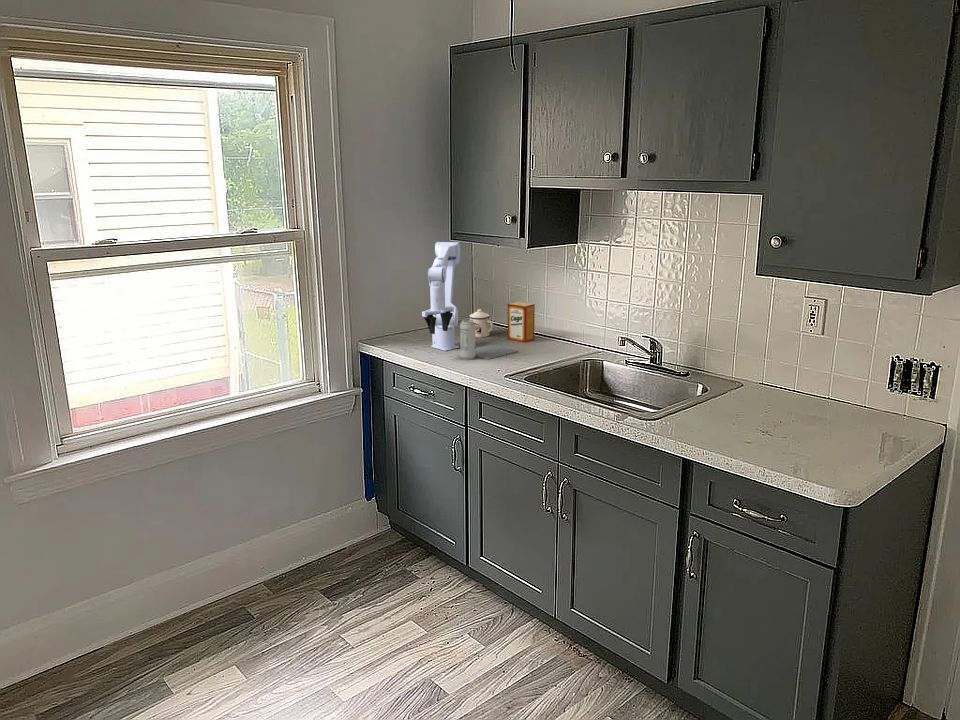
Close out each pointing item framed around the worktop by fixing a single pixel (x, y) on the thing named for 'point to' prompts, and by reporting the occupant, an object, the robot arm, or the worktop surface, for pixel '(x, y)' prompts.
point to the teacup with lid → (481, 323)
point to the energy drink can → (467, 339)
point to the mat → (493, 351)
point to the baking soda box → (521, 321)
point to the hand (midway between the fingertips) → (438, 332)
